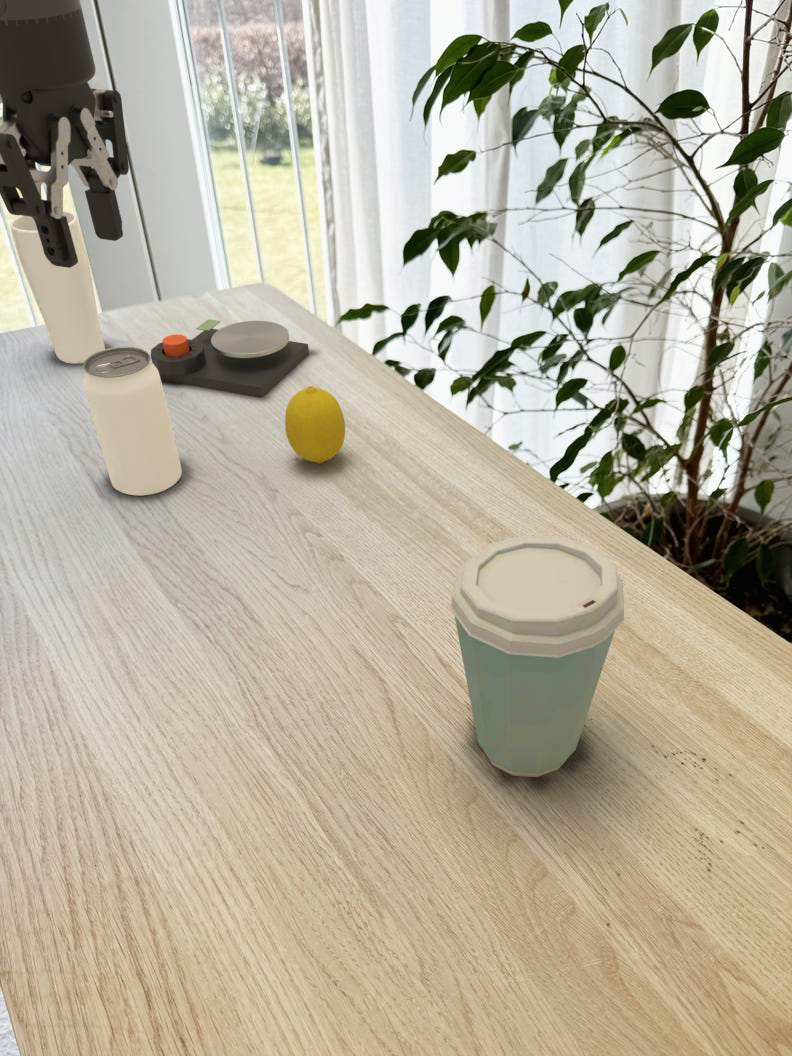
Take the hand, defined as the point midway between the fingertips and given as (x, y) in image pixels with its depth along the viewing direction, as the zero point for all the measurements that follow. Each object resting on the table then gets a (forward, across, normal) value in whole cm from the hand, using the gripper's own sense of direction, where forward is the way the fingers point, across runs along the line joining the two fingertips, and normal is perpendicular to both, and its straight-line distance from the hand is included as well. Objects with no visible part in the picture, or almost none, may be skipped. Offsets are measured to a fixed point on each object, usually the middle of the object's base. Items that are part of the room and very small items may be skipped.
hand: (87, 250), depth 80 cm
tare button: (+19, -20, -9) cm, 28 cm away
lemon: (+22, -8, +14) cm, 27 cm away
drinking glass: (+22, -20, -22) cm, 37 cm away
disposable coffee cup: (+22, +20, +44) cm, 53 cm away
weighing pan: (+18, -24, -4) cm, 30 cm away
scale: (+21, -23, -4) cm, 32 cm away
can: (+22, 0, 0) cm, 22 cm away
